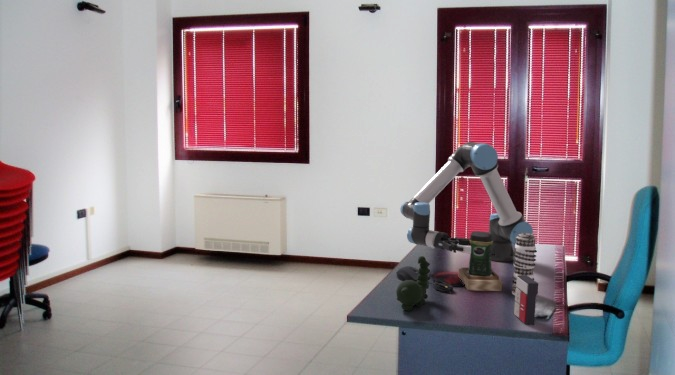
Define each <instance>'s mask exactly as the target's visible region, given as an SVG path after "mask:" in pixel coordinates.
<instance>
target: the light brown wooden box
mask: <svg viewBox="0 0 675 375" xmlns="http://www.w3.org/2000/svg"><path fill="white" fill-rule="evenodd" d="M468 269H469V267H461V268H458V274H457V275H458V276H459V277H460V279H461V280H462V281H463V282H464V284H465V286H464V287H465V288H466V290H467V291H481V292H482V291H490V292H492V291H493V292H502V291H503V290H502V289H503V281H502V280H501V279H500V276H499V275H498V274H497V273H496V272H495V271H494V270H493V269H492V273H491V275H489V276H476V275H471V274H469V272H468ZM460 279H459V280H460ZM461 280H460V281H461ZM464 284H463V285H464Z"/></svg>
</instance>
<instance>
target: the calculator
mask: <svg viewBox="0 0 675 375" xmlns="http://www.w3.org/2000/svg"><path fill="white" fill-rule="evenodd" d="M516 287H517V288H516V291H515V295H514V312H513V314H514V315H515V316H516V317H517V318H518V319H519V320H520V321H522V323H524V324H525V325H527V326H528V325H532V326H533V325H535V317H536V305H537V304H536V303H537V302H536V301H537V295H538V294H539V283H538V282H537V281H536V280H535V279H534V280H533V279H531V278H530V277H529V276H527V275H518V276H517V283H516Z"/></svg>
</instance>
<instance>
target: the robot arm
mask: <svg viewBox="0 0 675 375" xmlns="http://www.w3.org/2000/svg"><path fill="white" fill-rule="evenodd" d="M498 158H499V155H498V152H497V149H496V148H495V147H494V146H493V145H490V144H489V143H484V142H475V141H474V142H473V141H468V142H466V143H463V144H461V145H460V146H459V147H458V148H457V149H456V150H455V151H454V152H453V153H452V154H451V155H450V156H449V157H448V158H447V162H446V163H445V164H444V165H443V166H442V167H441V168H440V169H439V170H438V171H437V172H436V173H435V174H434V175H433V176H432V177H431V179H429V181H427V182H426V184H425V185H424V186H423V187H422V188H421V189H420V190H419V191H418V192H417V193H416V194H415V195H414V196H412V198H411V199H410V200H409V201H404V202H403V203H402V204H401V205H400V208H399V209H400V213H401V215H402V216H403V217H404V218H406V219H409V220H411V221H412V227H410V228H409V229H408V230H407V234H406V238H407V241H408V242H409V243H411V244H414V245H417V246H424V247H429V248H431V249H432V250H433V249H438V250H442V251H443V250H446V251H449V252H453V253H455V254H456V253H457V252H459V253H465V254H471V245H470V238H466V237H465V238H464V237H450V235H449V234H448V233H446V232H441V231H437V230H431V229H430V218H431V205H430V203H431V202H432V201H433V200H434V199H435V198H436V197H437V196H438V195H439V194H440V193H441V192H442V191H443V190H444V189H445V187H446V186H447V185H449V184H450V182H451V181H452V180H453V179H454V178H455V177H456V176H457V175H458V174H460V173H463V172H464V171H466V169H467V168H470V167H471V169H472V172H473V174H474V175H475V177H479V179H480V181H481V182H482V185H483V186H484V189H485V190H486V192H487V195H488V196H489V199H490V202H491V203H492V205H493V208H494V209H495V211H496V212H495V213H491V214H490V215H489V216H490V217H489V219H488V220H489V221H488V222H489V226H488V227H489V228H488V229H489V230H488V232H489V233H492V236H493V243H492V246H491V261H493V262H501V263H502V262H504V263H505V262H508V263H509V262H513V261H514V259H513V258H514V257H515V256H514V254H513V253H514V251H513V250H514V245H515V244H516V236H518V234H519V233H530V234H533V235H534V229H533V227H532V224H530V222H528V221H526V220H525V218H524V216H523V214H522V212H520V211H517V209H516V207H515V204H514V203H513V201H512V198H511V197H510V194H509V193H508V190H507V188H506V186H505V184H504V182H503V179H502V177H501V176H500V173H499V171H498V167H499V163H498Z"/></svg>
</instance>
